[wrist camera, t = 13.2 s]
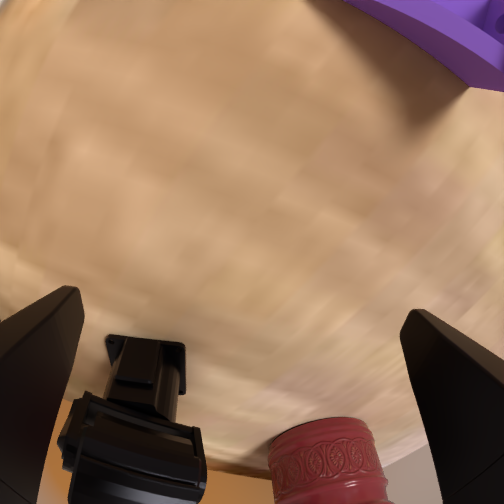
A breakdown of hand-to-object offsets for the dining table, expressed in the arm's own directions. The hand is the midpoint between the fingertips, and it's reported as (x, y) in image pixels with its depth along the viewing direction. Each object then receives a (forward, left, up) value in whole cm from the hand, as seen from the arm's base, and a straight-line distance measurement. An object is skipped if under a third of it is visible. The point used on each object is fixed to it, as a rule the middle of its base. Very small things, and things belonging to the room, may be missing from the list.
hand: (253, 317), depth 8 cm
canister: (-30, -13, -12) cm, 35 cm away
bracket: (+14, -10, -13) cm, 21 cm away
